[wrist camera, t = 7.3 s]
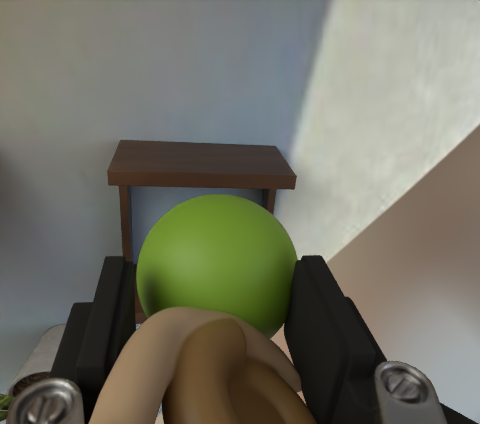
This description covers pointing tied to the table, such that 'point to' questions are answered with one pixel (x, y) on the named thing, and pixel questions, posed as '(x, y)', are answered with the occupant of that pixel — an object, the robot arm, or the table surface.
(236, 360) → the snail figurine
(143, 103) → the table surface
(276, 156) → the frame
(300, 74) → the table surface
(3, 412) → the house plant
